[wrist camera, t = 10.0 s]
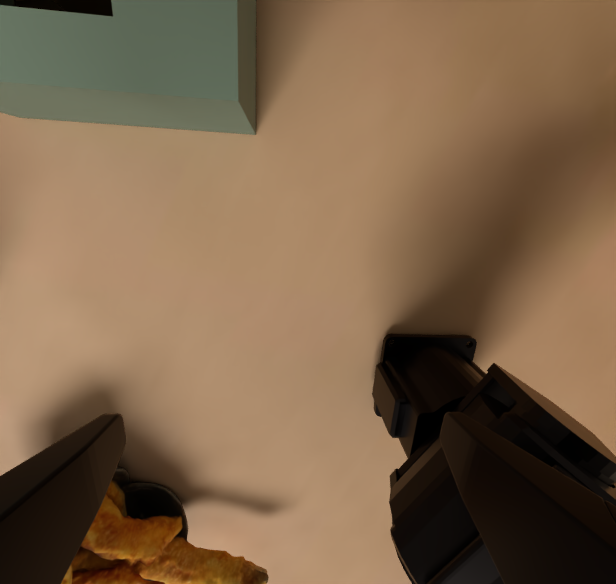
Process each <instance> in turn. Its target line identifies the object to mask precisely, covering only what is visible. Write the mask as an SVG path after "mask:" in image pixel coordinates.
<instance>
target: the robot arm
mask: <svg viewBox="0 0 616 584" xmlns="http://www.w3.org/2000/svg"><path fill="white" fill-rule="evenodd" d="M391 340H394V342H393V343H392V344H389V342H390V341H391ZM469 341H470V343H469V344H468V345H466V344H467V342H469ZM476 345H477V342H476V340H475V339H474V338H472V337H471V336H468V335H413V334H389V335H387V336H386V337H385V338H384V340H383V347H382V354H381V361H380V363H378V364H377V366H376V371H375V378H374V386H373V393H372V395H373V398H374V400H375V402H374V411H375V413H376V415H377V416H380V417H382V419H383V421H384V423H385V426H386V428H387V430H388V433H389V434H390V435H391V436H392V438H399V440H400V443H401V445H402V447H403V449H404V451H405V453H406V456H407V458H408V459H407V461H406V462H405V463H404V464H403V465H402V466H401V467H400V468H399V469H395V470H394V472H393V473H392V474H391V475H390V487H391V492H390V501H389V503H390V508H391V513H392V524H393V526H392V527H391V530H390V531H391V537H392V540H393V542H394V545H395V548H396V552H397V555H398V558H399V560H400V562H401V564H402V566H403V569H404V570H405V572H406V574H407V576H408V577H409V579H410V581H411V582H412V584H616V456H615V455H614V454H613V453H612V452H611V451H610V450H609V449H608V448H607V447H606V446H605V445H604V444H603V443H602V442H601V441H600V440H599V439H598V438H597V437H596V436H595V435H594V434H593V433H592V432H591V431H589V430H588V429H587V428H585V427H584V426H583V425H582V424H580V423H579V422H578V421H576V420H575V419H574V418H572V417H571V416H570V415H569V414H567V413H566V412H565V411H563V410H562V409H561V408H559V407H558V406H557V405H556V404H554V403H553V402H551V401H550V400H549V399H547V398H546V397H544V396H543V395H541V394H540V393H538V392H537V391H535V390H534V389H532V388H531V387H529V386H528V385H526V384H525V383H523V382H522V381H520V380H519V379H517V378H516V377H514V376H513V375H511V374H510V373H509V372H507V371H506V370H504V369H503V368H501V367H500V366H498V365H497V364H495V363H493V364H492V365H491V366H490V368H489V369H488V370H487V371H488V373H487V374H486V373H485V372H483V371H482V370H481V369H480V368H479V367H478V366H477V365H476V364H475V363H474V362H473V357H474V353H475V349H476ZM125 444H126V435H125V429H124V422H123V417H122V415H121V414H103V415H101V416H99V417H98V418H96V419H94V420H93V421H91V422H89V423H88V424H86V425H84V426H83V427H81V428H79V429H78V430H76V431H74V432H73V433H71V434H69V435H68V436H66V437H65V438H63V439H61V440H60V441H58V442H56V443H55V444H53V445H51V446H50V447H48V448H46V449H45V450H43V451H41V452H40V453H38V454H36V455H35V456H33V457H31V458H30V459H28V460H26V461H25V462H23V463H21V464H20V465H18V466H16V467H15V468H13V469H11V470H10V471H8V472H6V473H5V474H3V475H1V476H0V584H61V583H62V581H63V579H64V577H65V575H66V573H67V571H68V569H69V567H70V565H71V563H72V561H73V560H74V558H75V556H76V554H77V552H78V550H79V548H80V546H81V544H82V542H83V540H84V538H85V536H86V534H87V533H88V531H89V529H90V527H91V525H92V523H93V521H94V519H95V517H96V515H97V513H98V511H99V509H100V507H101V504H102V502H103V500H104V497H105V495H106V492H107V490H108V487H109V485H110V483H111V480H112V478H113V475H114V473H115V470H116V468H117V465H118V463H119V460H120V458H121V455H122V453H123V450H124V448H125Z"/></svg>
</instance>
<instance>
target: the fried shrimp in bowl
mask: <svg viewBox="0 0 616 584" xmlns="http://www.w3.org/2000/svg"><path fill="white" fill-rule="evenodd" d="M187 534H188V524H187V519H186V515H185V512H184V509H183V507H182V504H181V502H180V501H179V499H178V498H177V496H176V495H175V494H174V493H173V492H172V491H170V490H169V489H167V488H165V487H163V486H161V485H159V484H153V483H130V479H129V475H128V472H127V471H126V470H125V469H123V468H121V467H117V468H116V470H115V473H114V475H113V478H112V480H111V483H110V485H109V487H108V490H107V492H106V495H105V497H104V500H103V502H102V504H101V507H100V509H99V511H98V513H97V515H96V517H95V519H94V521H93V523H92V525H91V527H90V529H89V531H88V533H87V534H86V536H85V538H84V540H83V542H82V544H81V546H80V548H79V550H78V552H77V554H76V556H75V558H74V560H73V561H72V563H71V565H70V567H69V569H68V571H67V573H66V575H65V577H64V579H63V581H62V583H61V584H266V583H267V582H268V575H267V571H266V569H264V568H262V567H259V566H257V565H255V564H254V563H252V562H250V561H246V560H245V559H244V557H241V556H240V557H233V556H231V555H230V554H229V553H227V552H226V551H219V550H208V549H203V548H197V547H195V546H193V545H192V544H190V543H189V542H188V541H187Z"/></svg>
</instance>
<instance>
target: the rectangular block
mask: <svg viewBox="0 0 616 584" xmlns="http://www.w3.org/2000/svg"><path fill="white" fill-rule="evenodd" d="M54 1H55V2H56V3H57V4H59V5H60V6H61V7H62V8H63V9H65V10H66V11H67V12H73V13H83V14H93V15H103V16H112V17H113V11H112V2H111V0H54Z"/></svg>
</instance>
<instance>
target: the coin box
mask: <svg viewBox="0 0 616 584" xmlns="http://www.w3.org/2000/svg"><path fill="white" fill-rule="evenodd" d="M111 2H112V11H113V17H112V16H103V15H93V14H83V13H73V12H63V11H54V10H44V9H34V8H24V7H15V3H14V0H0V112H1V113H5V114H8V115H12V116H16V117H20V118H33V119H47V120H60V121H74V122H88V123H101V124H115V125H129V126H143V127H156V128H170V129H184V130H197V131H211V132H225V133H238V134H252V135H256V0H111Z"/></svg>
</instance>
